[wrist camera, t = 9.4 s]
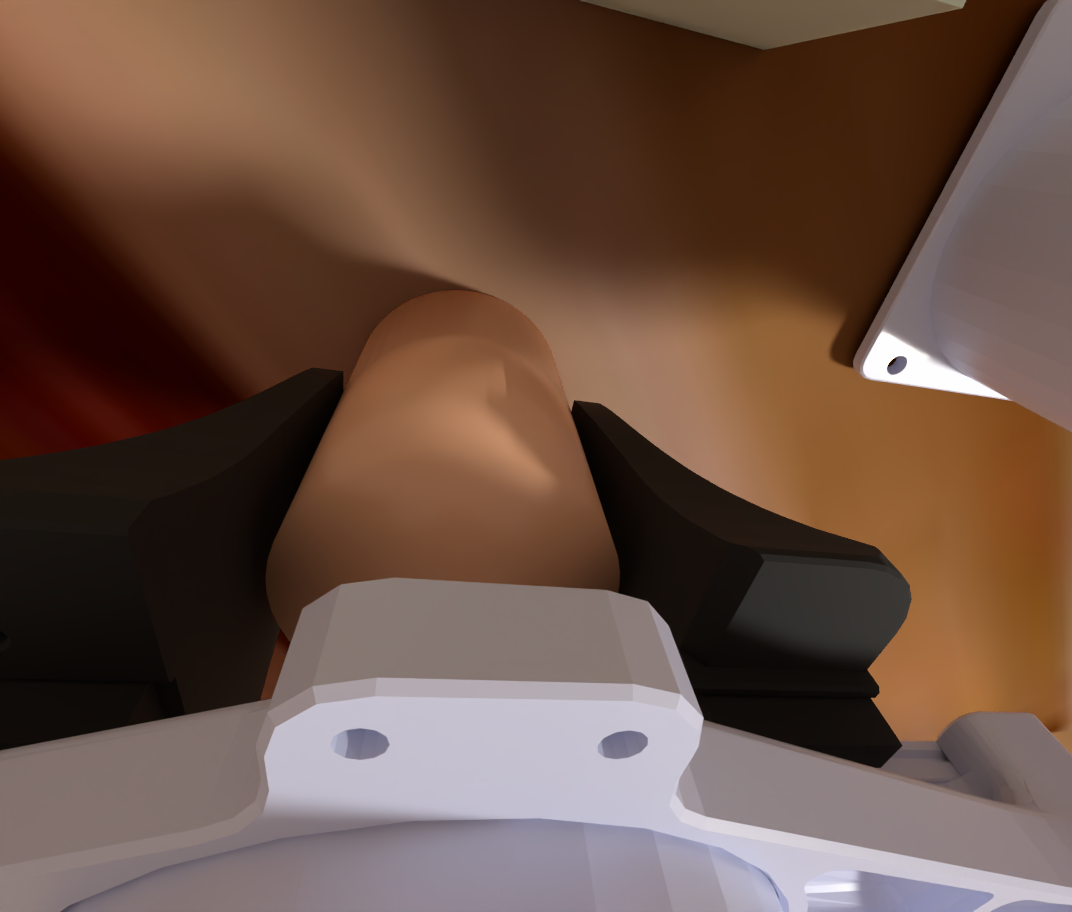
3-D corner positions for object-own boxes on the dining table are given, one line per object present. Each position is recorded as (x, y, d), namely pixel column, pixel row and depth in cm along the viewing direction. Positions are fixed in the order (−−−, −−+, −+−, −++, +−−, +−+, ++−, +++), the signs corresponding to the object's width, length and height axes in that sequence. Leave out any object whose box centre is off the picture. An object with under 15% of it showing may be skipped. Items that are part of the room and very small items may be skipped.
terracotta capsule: (573, 303, 13) (659, 466, 7) (541, 475, 15) (583, 700, 9) (355, 277, 12) (239, 438, 6) (361, 463, 14) (285, 701, 9)
